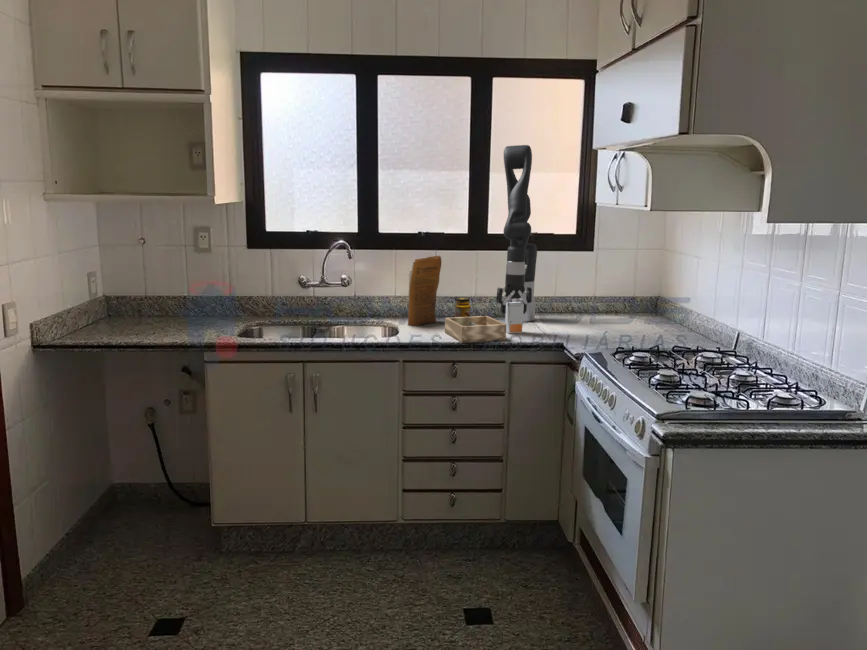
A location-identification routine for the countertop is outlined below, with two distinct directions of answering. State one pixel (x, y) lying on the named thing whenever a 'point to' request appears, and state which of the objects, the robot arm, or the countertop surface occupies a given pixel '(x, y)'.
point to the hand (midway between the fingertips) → (513, 313)
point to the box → (475, 329)
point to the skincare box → (514, 317)
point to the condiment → (462, 307)
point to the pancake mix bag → (423, 290)
